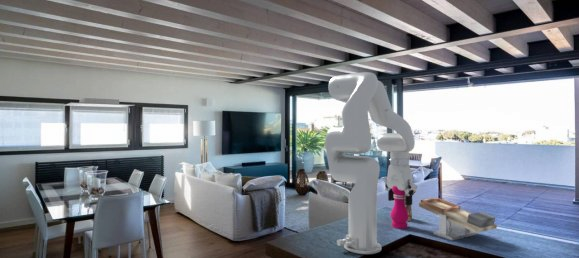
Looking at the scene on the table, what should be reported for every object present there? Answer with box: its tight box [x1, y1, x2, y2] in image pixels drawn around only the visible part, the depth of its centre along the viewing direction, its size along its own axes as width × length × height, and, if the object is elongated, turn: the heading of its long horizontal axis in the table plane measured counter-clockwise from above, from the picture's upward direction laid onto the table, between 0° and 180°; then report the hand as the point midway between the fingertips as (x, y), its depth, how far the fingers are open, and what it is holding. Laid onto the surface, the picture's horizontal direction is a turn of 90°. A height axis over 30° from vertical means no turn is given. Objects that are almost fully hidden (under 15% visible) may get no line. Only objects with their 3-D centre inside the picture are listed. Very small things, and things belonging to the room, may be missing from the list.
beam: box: [418, 197, 498, 234], centre depth 129 cm, size 12×25×4 cm, turn 28°
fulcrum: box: [433, 209, 478, 241], centre depth 129 cm, size 15×8×8 cm, turn 118°
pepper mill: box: [390, 186, 409, 230], centre depth 140 cm, size 7×7×20 cm
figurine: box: [404, 193, 413, 222], centre depth 152 cm, size 7×7×12 cm
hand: (400, 202), depth 140 cm, fingers open, 9 cm apart
